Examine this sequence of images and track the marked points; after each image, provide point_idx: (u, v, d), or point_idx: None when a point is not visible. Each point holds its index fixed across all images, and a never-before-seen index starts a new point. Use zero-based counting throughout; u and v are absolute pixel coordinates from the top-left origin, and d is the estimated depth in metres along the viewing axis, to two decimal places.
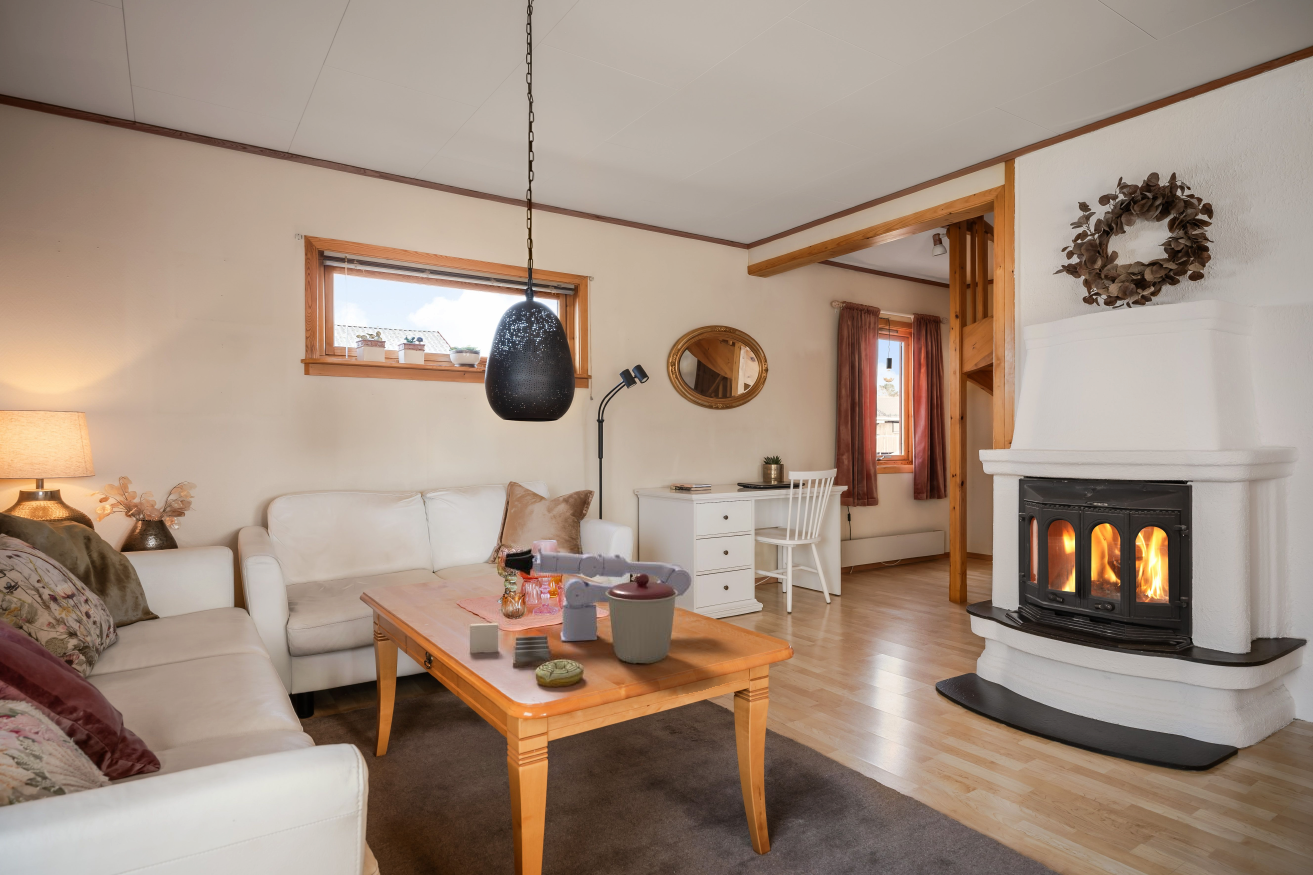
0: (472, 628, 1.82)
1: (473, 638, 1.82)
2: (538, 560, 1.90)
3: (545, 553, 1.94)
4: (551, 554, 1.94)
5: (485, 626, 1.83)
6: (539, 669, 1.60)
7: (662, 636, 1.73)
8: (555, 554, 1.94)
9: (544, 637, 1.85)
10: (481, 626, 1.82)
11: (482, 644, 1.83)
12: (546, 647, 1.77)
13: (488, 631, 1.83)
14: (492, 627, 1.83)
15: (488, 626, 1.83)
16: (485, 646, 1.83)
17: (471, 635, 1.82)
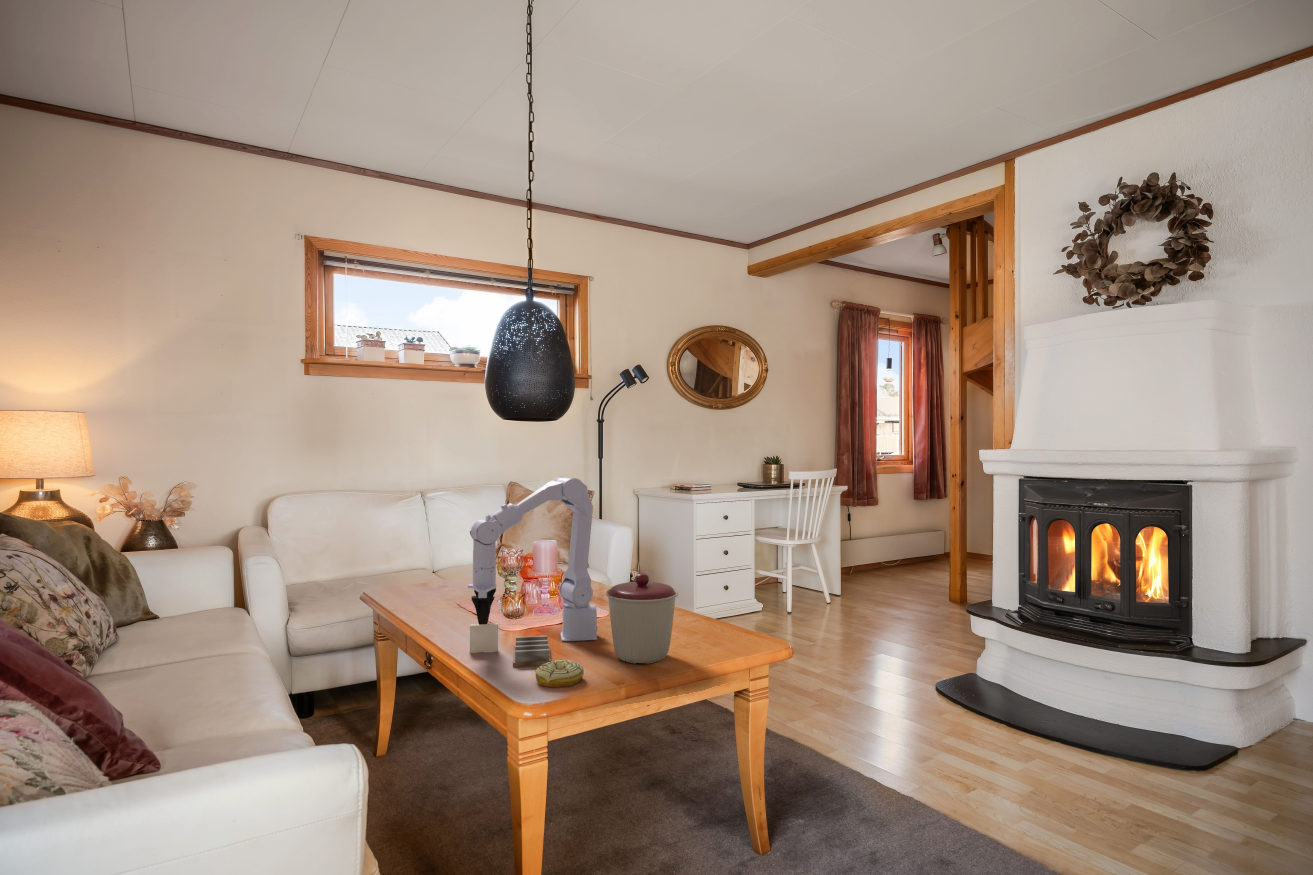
0: (472, 628, 1.82)
1: (473, 638, 1.82)
2: (477, 590, 1.78)
3: (473, 580, 1.82)
4: (474, 573, 1.82)
5: (485, 626, 1.83)
6: (539, 669, 1.60)
7: (662, 636, 1.73)
8: (473, 569, 1.82)
9: (544, 637, 1.85)
10: (481, 626, 1.82)
11: (482, 644, 1.83)
12: (546, 647, 1.77)
13: (488, 631, 1.83)
14: (492, 627, 1.83)
15: (488, 626, 1.83)
16: (485, 646, 1.83)
17: (471, 635, 1.82)
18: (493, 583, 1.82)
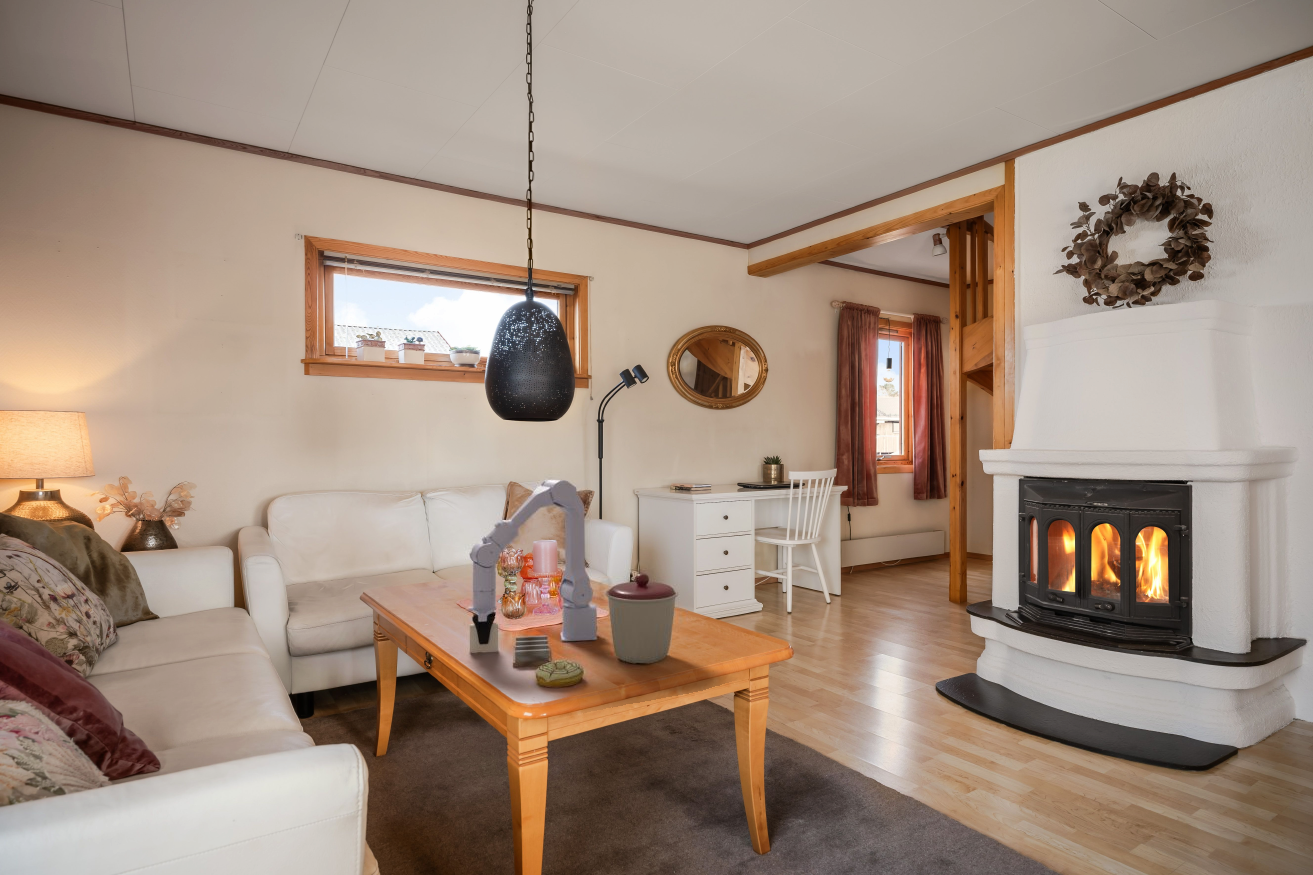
0: (472, 627, 1.82)
1: (473, 638, 1.82)
2: (477, 613, 1.78)
3: (473, 602, 1.82)
4: (473, 596, 1.82)
5: None
6: (539, 669, 1.60)
7: (662, 636, 1.73)
8: (473, 592, 1.82)
9: (544, 637, 1.85)
10: None
11: None
12: (546, 647, 1.77)
13: None
14: (492, 627, 1.83)
15: None
16: (485, 646, 1.83)
17: (471, 635, 1.82)
18: (493, 606, 1.82)
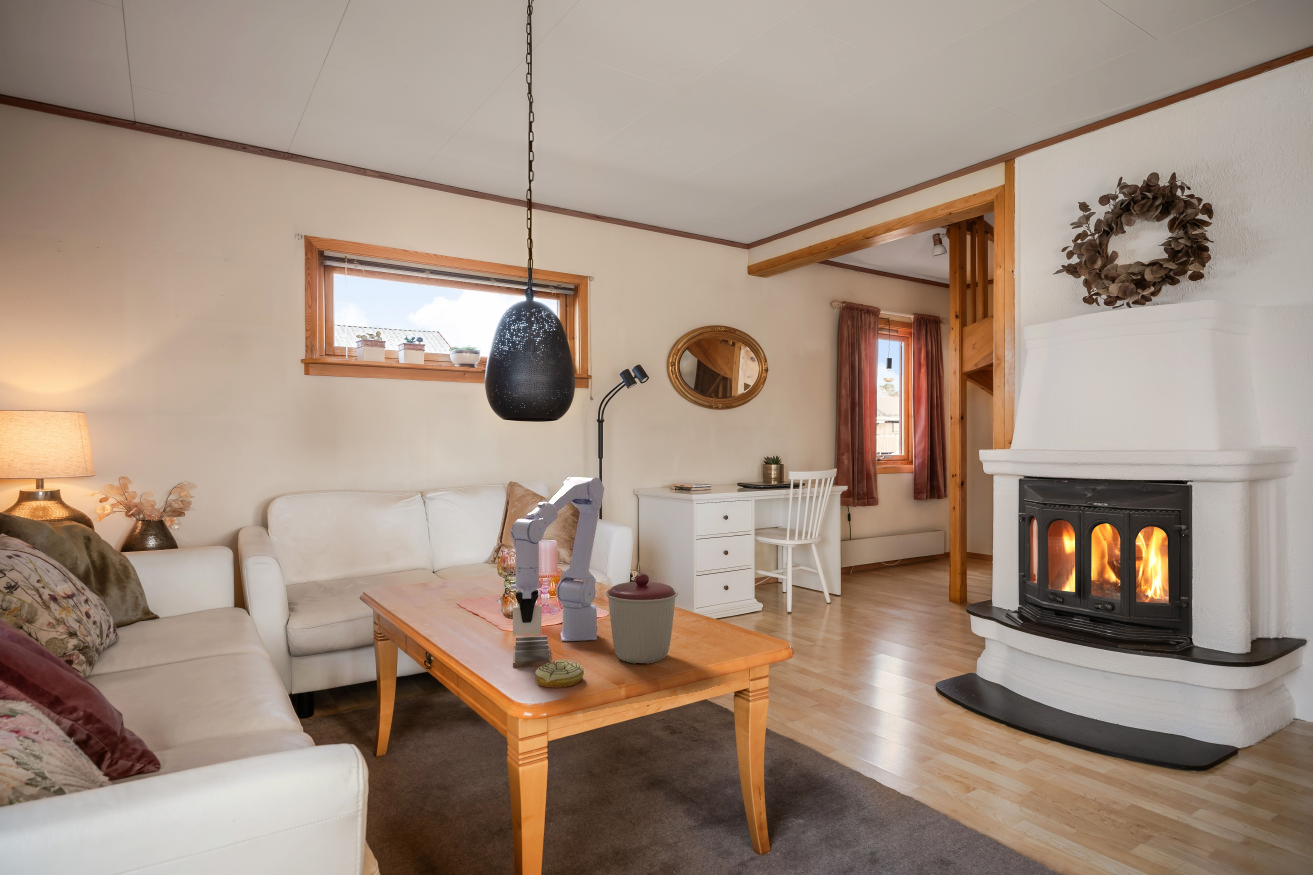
0: (515, 610, 1.78)
1: (516, 621, 1.78)
2: (521, 590, 1.74)
3: (516, 580, 1.78)
4: (516, 573, 1.77)
5: None
6: (539, 670, 1.60)
7: (662, 636, 1.73)
8: (516, 569, 1.78)
9: (544, 637, 1.85)
10: None
11: (526, 626, 1.78)
12: (546, 647, 1.77)
13: None
14: (536, 610, 1.79)
15: None
16: (528, 629, 1.78)
17: (514, 617, 1.78)
18: (536, 583, 1.78)
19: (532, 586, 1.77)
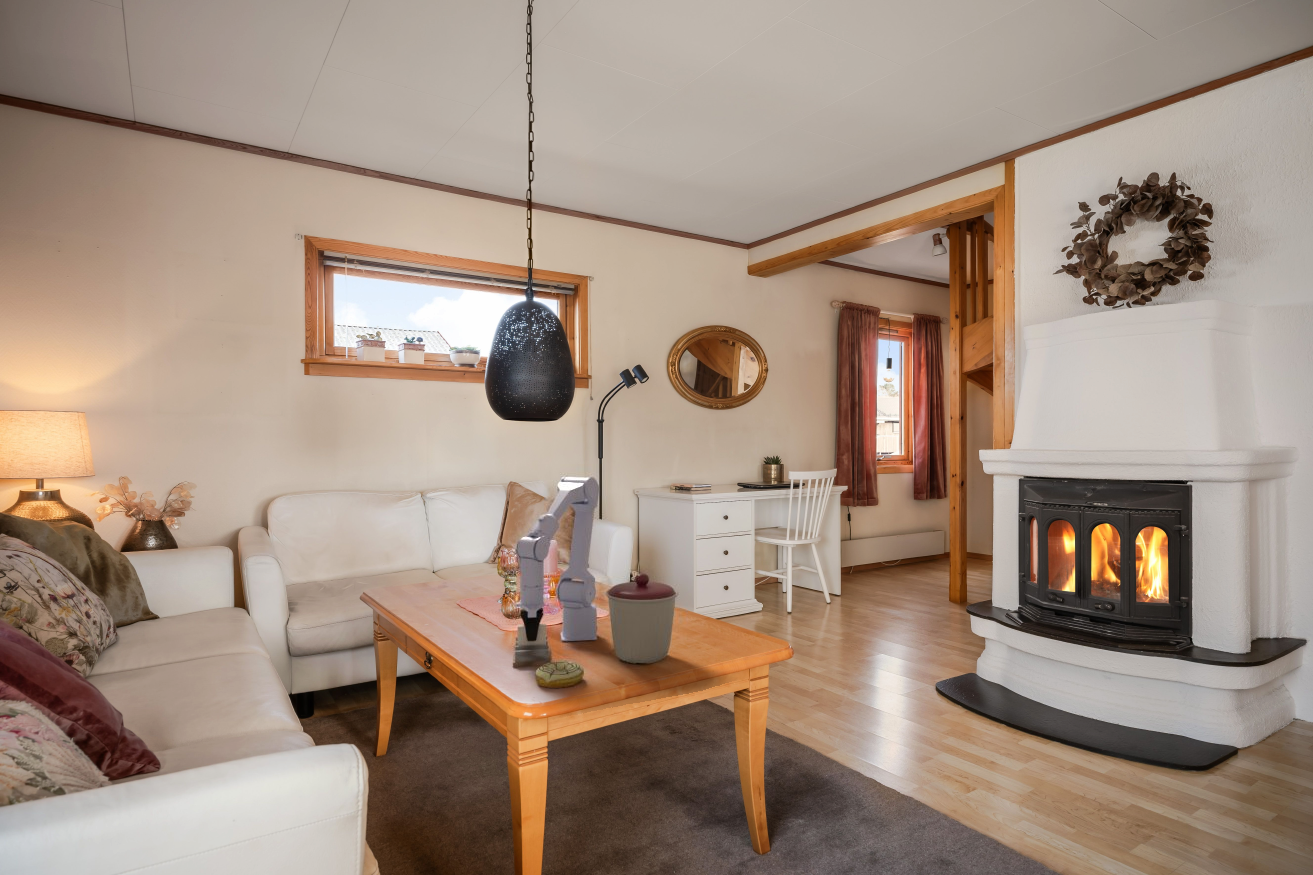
0: (519, 629, 1.77)
1: (521, 640, 1.77)
2: (526, 609, 1.73)
3: (521, 598, 1.77)
4: (521, 592, 1.77)
5: None
6: (539, 670, 1.60)
7: (662, 636, 1.73)
8: (521, 587, 1.77)
9: None
10: None
11: None
12: (546, 647, 1.77)
13: None
14: (540, 629, 1.78)
15: None
16: None
17: (519, 636, 1.77)
18: (541, 601, 1.78)
19: (537, 604, 1.76)
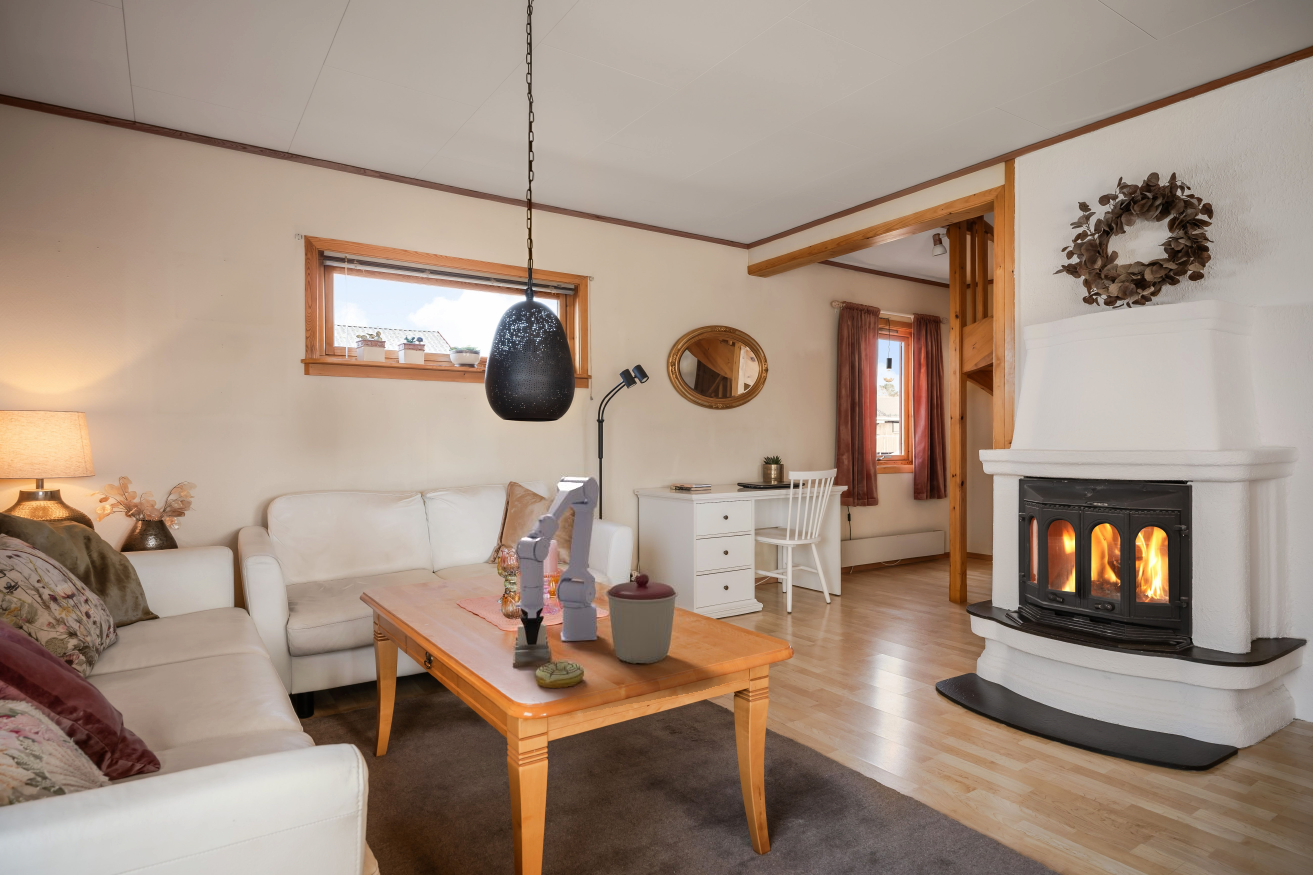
0: (519, 629, 1.77)
1: (521, 640, 1.77)
2: (526, 610, 1.73)
3: (521, 598, 1.77)
4: (521, 592, 1.77)
5: None
6: (539, 670, 1.59)
7: (662, 636, 1.73)
8: (521, 588, 1.77)
9: None
10: None
11: None
12: (546, 647, 1.77)
13: None
14: (540, 629, 1.78)
15: None
16: None
17: (519, 636, 1.77)
18: (541, 602, 1.78)
19: (537, 605, 1.76)
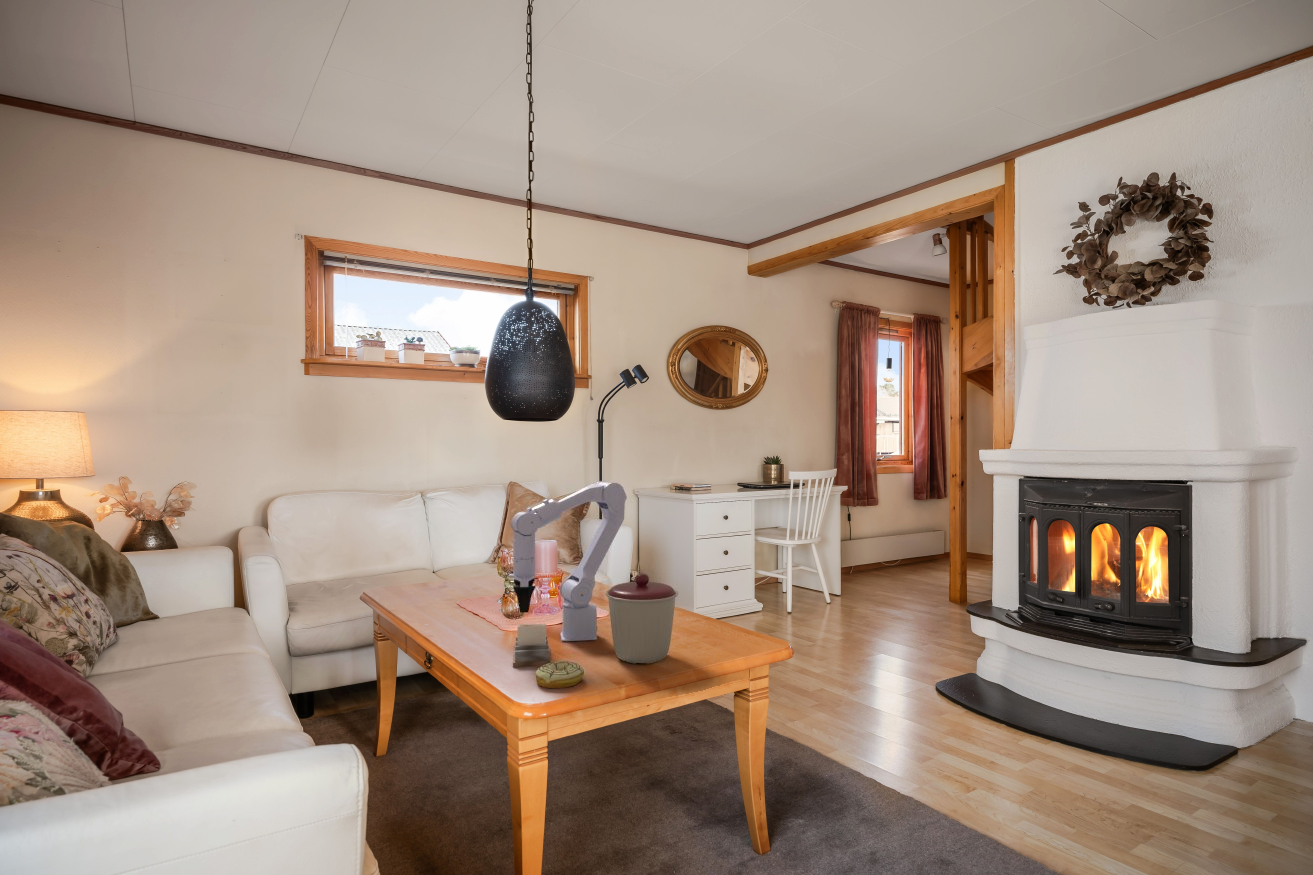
0: (519, 629, 1.77)
1: (521, 640, 1.77)
2: (519, 579, 1.84)
3: (514, 569, 1.88)
4: (514, 564, 1.88)
5: (533, 627, 1.78)
6: (539, 670, 1.59)
7: (662, 636, 1.73)
8: (514, 559, 1.88)
9: None
10: (529, 627, 1.78)
11: None
12: (546, 647, 1.77)
13: (536, 632, 1.78)
14: (540, 629, 1.78)
15: (536, 627, 1.78)
16: None
17: (519, 636, 1.77)
18: (533, 573, 1.89)
19: (529, 575, 1.88)
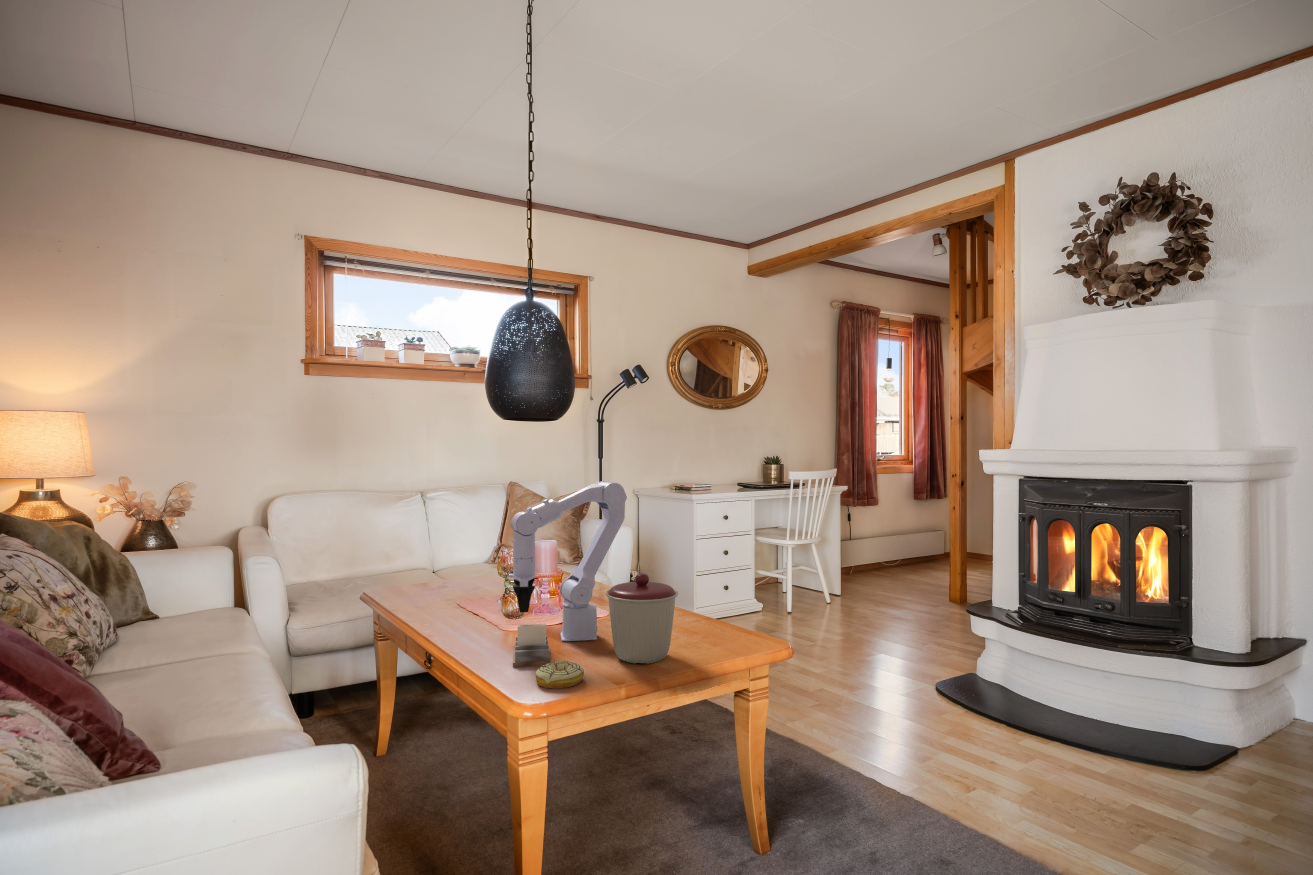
0: (519, 629, 1.77)
1: (521, 640, 1.77)
2: (518, 579, 1.85)
3: (514, 569, 1.89)
4: (514, 563, 1.88)
5: (533, 627, 1.78)
6: (539, 670, 1.59)
7: (662, 636, 1.73)
8: (514, 559, 1.88)
9: None
10: (529, 627, 1.78)
11: None
12: (546, 647, 1.77)
13: (536, 632, 1.78)
14: (540, 629, 1.78)
15: (536, 627, 1.78)
16: None
17: (519, 636, 1.77)
18: (533, 573, 1.89)
19: (529, 575, 1.88)
